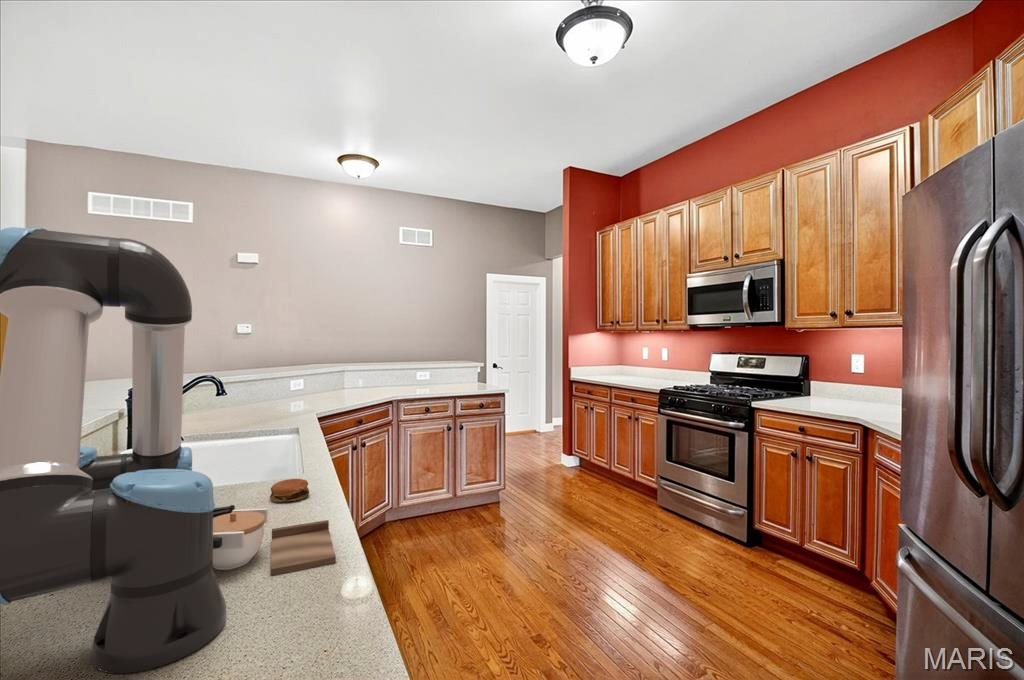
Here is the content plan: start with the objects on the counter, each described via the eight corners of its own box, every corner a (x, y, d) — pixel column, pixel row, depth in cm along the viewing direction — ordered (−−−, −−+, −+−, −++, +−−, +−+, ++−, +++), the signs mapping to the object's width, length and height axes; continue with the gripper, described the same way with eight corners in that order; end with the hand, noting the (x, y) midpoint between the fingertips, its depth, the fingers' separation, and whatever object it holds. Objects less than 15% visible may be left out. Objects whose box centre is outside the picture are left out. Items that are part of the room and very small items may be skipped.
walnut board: (335, 562, 87) (335, 548, 87) (270, 575, 82) (270, 560, 82) (327, 532, 101) (328, 519, 101) (271, 542, 96) (271, 528, 96)
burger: (264, 498, 122) (264, 480, 122) (299, 490, 129) (300, 473, 129) (278, 507, 116) (279, 489, 116) (315, 498, 122) (315, 481, 122)
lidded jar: (245, 544, 94) (246, 499, 94) (276, 558, 89) (276, 509, 89) (187, 566, 85) (187, 516, 85) (217, 582, 80) (217, 529, 80)
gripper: (164, 527, 95) (276, 522, 99) (78, 587, 73) (228, 577, 76) (164, 492, 95) (277, 487, 99) (78, 540, 73) (228, 532, 76)
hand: (256, 526), depth 88 cm, fingers closed on lidded jar, 11 cm apart
